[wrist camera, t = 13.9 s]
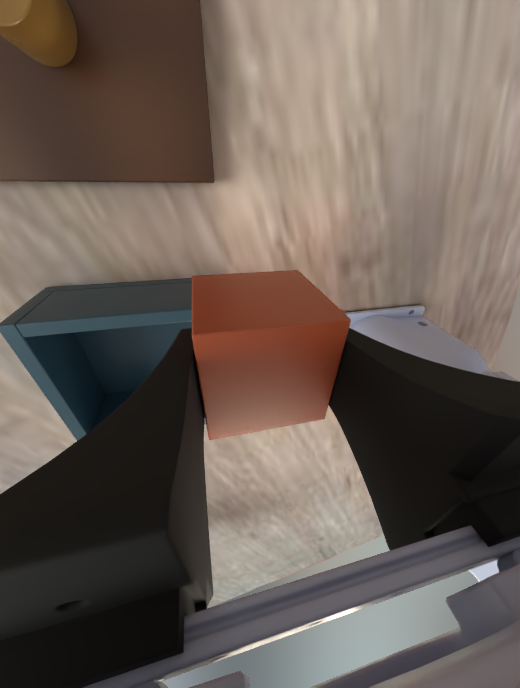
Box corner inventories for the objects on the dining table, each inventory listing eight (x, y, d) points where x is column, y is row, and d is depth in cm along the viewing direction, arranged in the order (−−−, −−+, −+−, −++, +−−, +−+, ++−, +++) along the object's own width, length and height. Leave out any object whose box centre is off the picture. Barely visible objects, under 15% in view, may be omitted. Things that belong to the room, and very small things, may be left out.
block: (298, 269, 11) (352, 319, 7) (288, 352, 13) (325, 419, 10) (191, 275, 10) (191, 335, 6) (204, 362, 13) (208, 441, 9)
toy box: (231, 275, 18) (242, 304, 14) (236, 376, 24) (245, 417, 20) (45, 287, 16) (-6, 326, 12) (101, 395, 21) (80, 446, 17)
